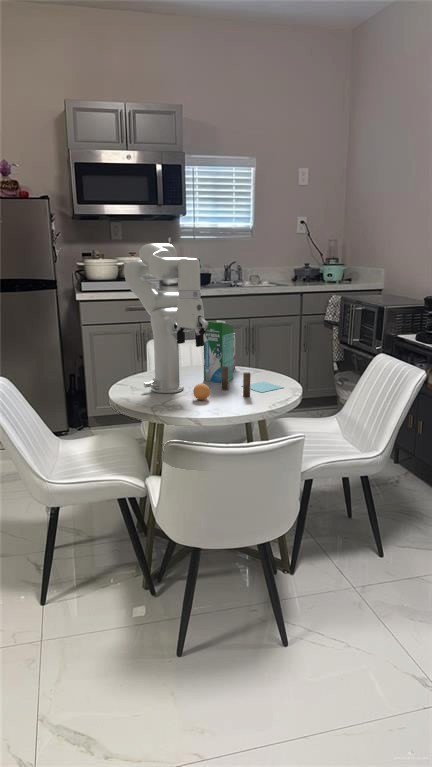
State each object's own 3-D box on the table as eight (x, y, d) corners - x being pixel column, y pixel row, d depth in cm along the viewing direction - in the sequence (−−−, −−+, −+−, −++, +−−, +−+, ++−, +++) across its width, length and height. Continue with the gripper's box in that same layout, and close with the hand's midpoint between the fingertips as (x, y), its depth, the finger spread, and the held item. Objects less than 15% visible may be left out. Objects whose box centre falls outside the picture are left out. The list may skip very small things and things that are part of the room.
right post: (246, 397, 195) (246, 374, 192) (241, 396, 197) (241, 372, 194) (251, 396, 196) (251, 373, 194) (247, 395, 198) (247, 371, 196)
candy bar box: (224, 367, 245) (225, 332, 241) (235, 368, 244) (235, 332, 240) (220, 373, 234) (220, 336, 230) (231, 373, 233) (231, 336, 229)
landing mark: (261, 392, 201) (261, 392, 201) (241, 386, 211) (241, 386, 211) (284, 387, 209) (284, 387, 208) (263, 382, 218) (263, 381, 218)
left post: (224, 390, 205) (224, 367, 202) (220, 389, 207) (220, 366, 204) (229, 389, 206) (229, 367, 204) (225, 388, 208) (225, 365, 206)
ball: (199, 403, 188) (199, 386, 186) (190, 399, 193) (189, 383, 191) (213, 400, 191) (213, 384, 190) (203, 396, 196) (203, 381, 195)
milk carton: (233, 378, 224) (233, 319, 218) (221, 383, 216) (222, 322, 210) (215, 376, 228) (215, 318, 222) (203, 380, 221) (203, 320, 215)
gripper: (214, 295, 176) (215, 346, 180) (180, 293, 188) (182, 341, 192) (198, 297, 171) (199, 349, 175) (164, 294, 183) (166, 343, 187)
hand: (190, 344), depth 184 cm, fingers open, 9 cm apart
